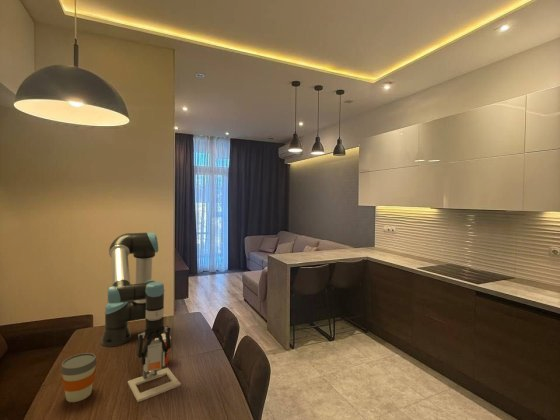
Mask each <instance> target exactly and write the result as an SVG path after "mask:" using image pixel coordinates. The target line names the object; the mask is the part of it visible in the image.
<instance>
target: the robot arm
mask: <svg viewBox="0 0 560 420" xmlns="http://www.w3.org/2000/svg"><path fill="white" fill-rule="evenodd" d="M158 252H159V242H158V237H157V234H156V233H155V232H148V231H146V232H130V233H129V232H128V233H127V232H125V233H124V234H123V233H122V234H121V235H119V236H117V237H116V238H115V239H114V240H113V241H112V242H111V243H110V245H109V248H108V255H109V257H110V258H111V284H112V285H111V286H109V287H108V288H107V304H105V309H104V315H105V317H104V332H103V334H102V337H101V340H100V341H101V345H102V346H103V347H108V348H109V347H111V348H112V347H117V346H118V347H119V346H122V345H125V344H126V343H128V342H130V341H131V339H132V334H131V331H130V328H129V325H128V324H129V323H128V322H132V321H139V320H140V321H141V320H145V329H144V331H143V332H142V333H138V334H137V337H138V341H137V350H136V356H137V357H138V358H141V365H143V367H144V371H145V372H147V351H148V345H150V343H151V342H152V341H153V340H155V338H159V340H160V341H161V342H162V348H163V350H162V359H161V365H162V366H161V367H165V366H166V365H165V358H166V357H167V351H168V349H171V348H172V343H171V339H170V337H171V334H170V332H171V328H170V327H171V326H168V325H167V326H164V323H165V322H164V321H165V320H164V316H165V315H164V314H165V310H164V309H165V307H164V306H165V299H164V298H165V287H164V286H165V284H164V283H163V282H161V281H156V280H153V279H152V277H153V275H152V273H153V271H152V270H153V258H154V257H155V256H156V253H158ZM129 255H132V257H133V258H135V283H133V284H132V283H131V279H130V277H131V276H130V267H129ZM161 334H165V335H166V345H167V346H166V345H165V343H164V340H163V337H162V335H161ZM145 336H146V338H145ZM144 339H146V340H145V343H144ZM147 373H148V372H147Z"/></svg>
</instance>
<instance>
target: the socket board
mask: <svg viewBox="0 0 560 420" xmlns="http://www.w3.org/2000/svg"><path fill="white" fill-rule="evenodd" d="M164 376H167V378H168V379H169V380H170V381H169V382H165V383H164V384H160V385H158V386H154V387H153V388H149V389H146V390H144V391H141V392H140V390H139V388H138V387H137V386H139V385H142V384H144V383H147V382H150V381H152V380H155V379H159V378H161V377H164ZM127 384H128V385H127V386H129V388H130V390H131V392H132V394H133V396H134V398H135V399H136V402H137V403H139V402H143V401H145V400H148V399H150V398H152V397H155V396H157V395H160V394H162V393H165V392H167V391H170V390H172V389H175V388H178V387H180V386H181V382H180V381H179V379H178V378H177V377H176V376H175V375H174V374H173V372H172V371H171V369H170V368H169V367H165V368H161V369H159V370H154V375H153V376H149V375H148V372H145V371H144V366H142V376H140V377H138V376H137V377H136V378H133V379H130V380H128V381H127Z"/></svg>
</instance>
